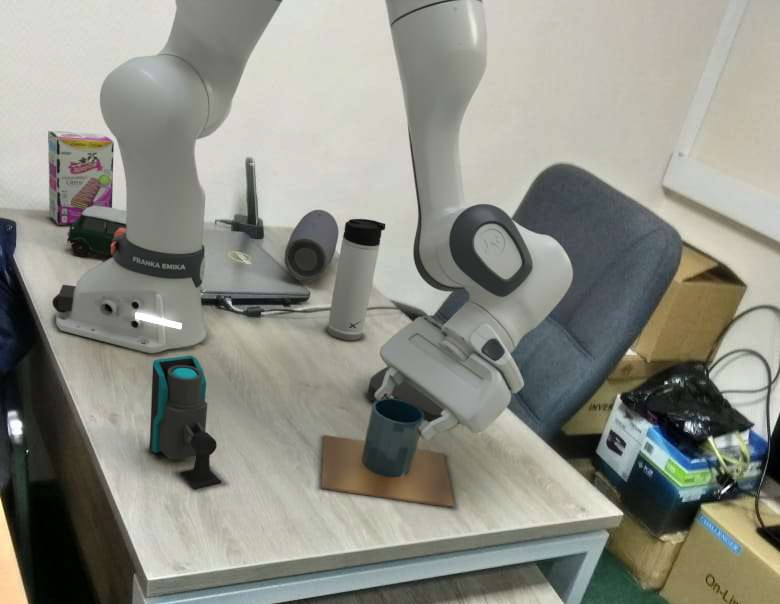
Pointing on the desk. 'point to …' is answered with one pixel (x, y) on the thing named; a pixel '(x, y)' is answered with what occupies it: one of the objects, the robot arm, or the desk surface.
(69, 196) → the candy bar box
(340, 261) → the travel mug
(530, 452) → the desk surface
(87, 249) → the miniature car
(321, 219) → the bluetooth speaker
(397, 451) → the cup
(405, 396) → the media streaming box
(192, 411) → the surveillance camera
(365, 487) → the brown flat rectangular board
